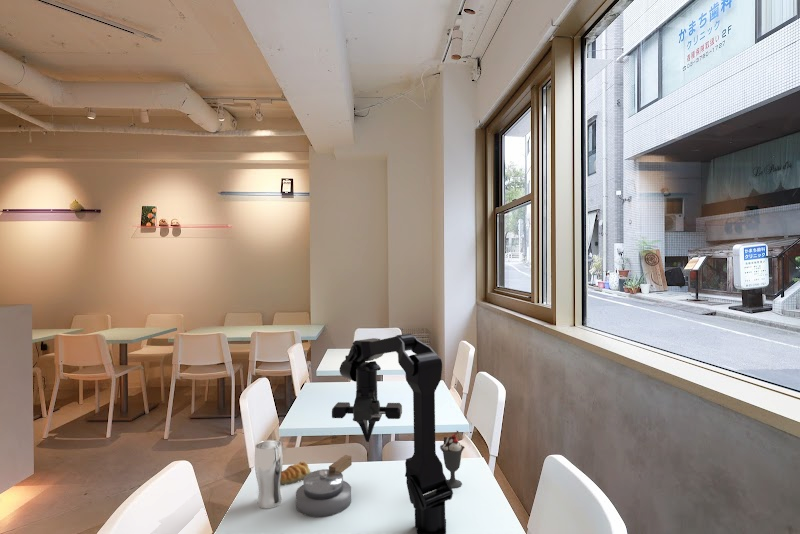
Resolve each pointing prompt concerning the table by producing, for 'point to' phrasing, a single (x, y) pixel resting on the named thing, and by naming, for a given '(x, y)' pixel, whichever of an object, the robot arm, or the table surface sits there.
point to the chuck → (326, 480)
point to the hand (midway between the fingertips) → (368, 441)
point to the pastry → (294, 473)
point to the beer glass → (268, 472)
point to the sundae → (452, 458)
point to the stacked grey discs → (323, 503)
